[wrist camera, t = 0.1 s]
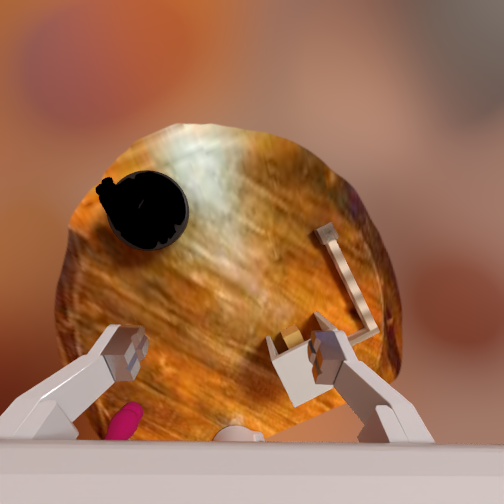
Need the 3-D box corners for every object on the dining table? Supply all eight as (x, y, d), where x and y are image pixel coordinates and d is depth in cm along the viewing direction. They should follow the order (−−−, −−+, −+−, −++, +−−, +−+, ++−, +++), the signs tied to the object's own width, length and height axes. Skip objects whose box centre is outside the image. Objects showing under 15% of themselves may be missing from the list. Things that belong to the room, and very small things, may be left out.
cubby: (334, 347, 66) (359, 374, 52) (283, 373, 66) (294, 407, 52) (316, 311, 66) (336, 328, 52) (265, 337, 65) (271, 361, 51)
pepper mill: (146, 421, 65) (102, 498, 45) (122, 426, 64) (67, 505, 44) (142, 398, 65) (96, 464, 45) (118, 402, 64) (61, 471, 44)
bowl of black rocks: (206, 237, 65) (190, 232, 46) (141, 259, 64) (99, 264, 45) (183, 173, 64) (157, 141, 45) (118, 195, 64) (65, 172, 45)
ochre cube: (302, 338, 66) (306, 345, 61) (287, 345, 66) (290, 353, 61) (294, 323, 66) (299, 329, 61) (280, 331, 66) (283, 338, 61)
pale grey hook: (377, 326, 67) (383, 330, 64) (342, 344, 66) (346, 349, 63) (327, 223, 66) (331, 222, 63) (291, 241, 65) (293, 240, 62)
